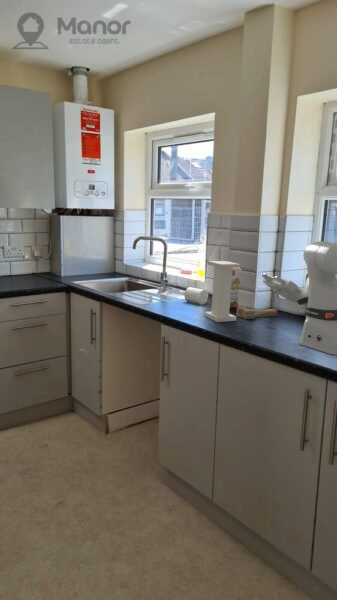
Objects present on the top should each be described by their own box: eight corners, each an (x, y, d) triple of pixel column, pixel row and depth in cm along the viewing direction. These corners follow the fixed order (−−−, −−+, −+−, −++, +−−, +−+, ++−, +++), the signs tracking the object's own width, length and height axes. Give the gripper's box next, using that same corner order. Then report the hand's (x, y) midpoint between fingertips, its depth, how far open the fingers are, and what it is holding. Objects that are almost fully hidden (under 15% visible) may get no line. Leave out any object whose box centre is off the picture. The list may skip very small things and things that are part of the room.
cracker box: (222, 308, 234) (224, 267, 230) (217, 305, 239) (220, 266, 235) (246, 307, 237) (250, 268, 233) (242, 305, 243) (245, 266, 239)
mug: (198, 305, 238) (199, 290, 236) (183, 302, 244) (184, 287, 243) (211, 302, 246) (212, 288, 245) (197, 299, 253) (198, 285, 251)
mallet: (280, 317, 219) (280, 309, 218) (245, 319, 211) (245, 311, 210) (270, 313, 226) (270, 305, 225) (236, 315, 218) (236, 307, 217)
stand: (235, 320, 207) (240, 264, 202) (217, 322, 202) (221, 264, 198) (222, 314, 217) (226, 261, 212) (204, 316, 213) (207, 261, 208)
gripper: (298, 298, 214) (279, 285, 208) (272, 291, 232) (253, 278, 226) (305, 287, 215) (286, 273, 208) (277, 280, 233) (259, 267, 226)
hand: (269, 276), depth 217 cm, fingers open, 8 cm apart
